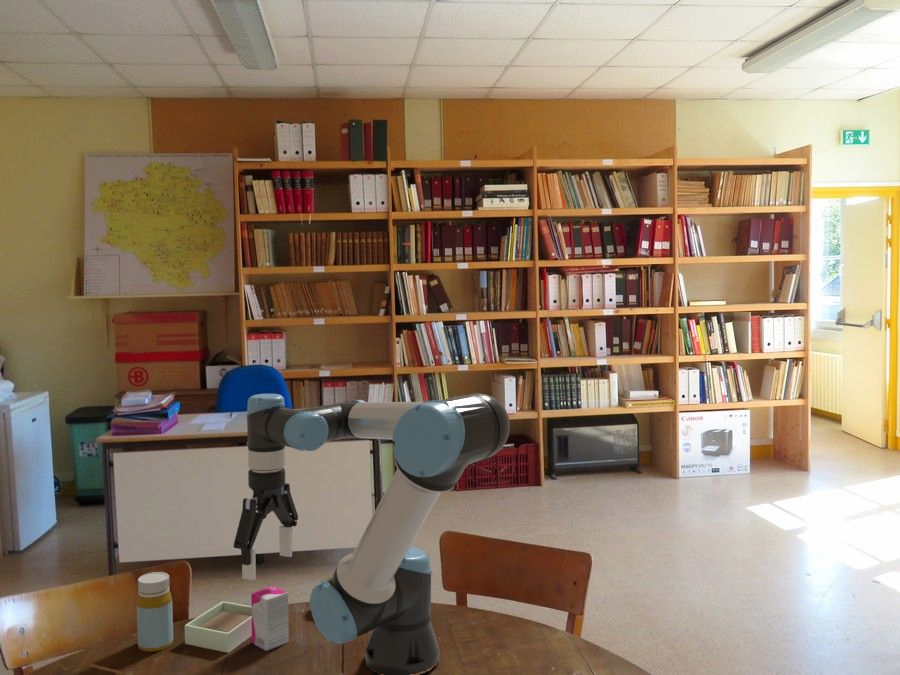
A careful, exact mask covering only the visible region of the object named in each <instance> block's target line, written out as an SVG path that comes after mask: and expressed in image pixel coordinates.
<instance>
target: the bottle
mask: <svg viewBox="0 0 900 675" xmlns="http://www.w3.org/2000/svg"><path fill="white" fill-rule="evenodd" d="M137 589H138V591H137V592H138V596H137V599H136V623H137V624H136V626H137V627H136V628H137V629H136V630H137V646H138V649H139V650H141V651H143V652H148V653H150V652H151V653H152V652H158V651H163V650H165V649H167V648H169V647H171V645H172V644H173V642H174V620H173V619H174V617H173V616H174V615H173V614H174V613H173V596H172V593H171V591H170V575H169V574H168V573H167V572H165V571H154V572H153V571H152V572H148V573H145V574H142V575H141V576H140V577H138V578H137Z"/></svg>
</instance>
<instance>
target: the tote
mask: <svg viewBox="0 0 900 675" xmlns="http://www.w3.org/2000/svg"><path fill="white" fill-rule="evenodd" d="M223 611H225V612H230V613H235V614H241V615H246V616H250V617H249V618H248V619H246V620H245V621H243V622H242V623H240V624H239V625H238V626H236V627H235V628H233V629H232V630H230V631H229V632H228V633H227V632H222V631H217V630H212V629H207V628H202V627H200V626H202V625H203V624H205V623H206V622H208V621H209V620H211V619H212V618H214V617H215V616H217V615H218V614H220V613H222V612H223ZM249 638H252V605H245V604H240V603H235V602H230V601H226V600H225V601H220V602H219V603H218V604H215V605H214V606H212V608H210V609H208V610H207V611H205V612H203V613H202V614H199V615H198V616H197V617H195V618H193V619H192V620H191V621H189V622H187V623H186V624H185V625H184V644H185V645H188V646H195V647H199V648H203V649H207V650H214V651H218V652H223V653H230V652H231V651H233V650H235V649H236V648H237V647H238V646H240V645H241V644H243V643H244V642H245V641H246V640H248V639H249Z"/></svg>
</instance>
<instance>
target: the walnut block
mask: <svg viewBox="0 0 900 675" xmlns="http://www.w3.org/2000/svg"><path fill="white" fill-rule="evenodd" d="M249 617H250V616H246V615H241V614H235V613H230V612H225V611H223V612H222V613H220V614H218V615H217V616H215V617H214V618H212V619H211V620H209V621H208V622H206V623H205V624H203V625H202V626H200V627H202V628H207V629H212V630H217V631H222V632H227V633H228V632H229V631H230V630H232V629H233V628H235V627H236V626H238V625H239V624H240V623H242V622H243V621H245V620H246V619H248V618H249Z"/></svg>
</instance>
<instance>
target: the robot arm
mask: <svg viewBox="0 0 900 675" xmlns="http://www.w3.org/2000/svg"><path fill="white" fill-rule="evenodd" d="M285 403H286V402H285V398H284V396H282V395H281V394H278V393H259V394H253V395H252V396H250V397H248V399H247V410H246V412H247V413H246V423H247V424H246V425H247V430H246V431H247V432H246V433H247V448H248V449H247V450H248V452H247V453H248V454H247V457H248V459H247V460H248V461H247V462H248V463H247V464H248V466H247V467H248V468H249V470H248V472H247V473H248V474H247V475H248V476H247V481H248V488H249V489H251V490H252V496H251V497H252V498H251V497H250V498H245V497H244V498H243V500H242V508H241V509H242V510H241V514H240V519H239V521H238V522H239V523H238V527H237V531H236V533H235V538H234V541H233V548H234V549H237V550H240V553H241V556H240V557H241V560H240V561H241V562H240V563H241V567H242V569H241V572H242V573H241V574H242V576H241V578H242V579H243V580H249V581H255V580H256V579H257V574H256V573H257V571H256V570H257V567H256V565H257V562H256V558H257V557H256V547H254V544H255V542H256V539H257V537H258V534H259V531H260V528H261V527H262V523H263V522H264V521H263V520H265V519H266V518H267V516H268V515H269V514H270V513H271V512H273V513H274V515H275V516H276V518H277V519H278V521H279V522H280V524H281V525H279V527H278V530H279V531H278V532H279V533H278V534H279V556H281V557H287V558H291V557H292V556H293V527H296V526H297V524H298V522H297V521H298V520H299V515H298V512H297V509H296V506H295V503H294V500H293V497H292V493H291V488H290V487H291V485H290V483H286V469H285V468H284V467H285V466H286V447H289V448H291V449H295V450H298V451H307V452H315V451H317V450H319V448H321V447H322V446H323V445H325V443H327V442H328V443H329V442H332V441H336V440H341V439H371V440H374V439H375V440H392V442H394V445H393V446H392V450H393V454H394V465H395V467H396V470H395V473H394V474H393V476H392V478H391V480H390V482H389V483H388V485H387V488H386V490H385V492H384V493H383V496H382V497H381V499H380V501H379V503H378V505H377V507H376V509H375V511H374V513H373V514H372V517H371V519H370V520H369V522H368V525H367V526H366V528H365V530H364V531H363V533H362V536H361V538H360V540H359V542H358V544H357V546H356V548H355V549H354V551H353V553H349V554H347V555H345V556H343V558H341V559H340V561H339V562H338V564H337V566H336V568H335V569H334V572H333V574H332V576H330V577H331V578H330V579H329V580H327V581H322V580H321V581H320V582H318V584H316V585H314V587H313V588H312V589H311V593H310V596H309V607H310V612H311V616H312V619H313V622H314V624H315V626H316V627H317V629H318V631H319V632H320V634H321V635H322V636H323V637H324V638H325V639H327V640H328V641H329V642H330V643H331V642H332V643H334V644H338V645H341V644H342V645H343V644H346V643H347V642H351V641H355V640H356V639H357V638H359V637H361V636H364V635H365V634H368V633H369V632H370V634H369V637H368V641H367V644H366V647H365V652H364V656H365V659H364V660H365V661H366V662H365V661H364V662H365V665H366V664H367V665H366V667H367V666H368V667H369V668H370V669H371V670H373V671H375V672H376V673H379V674H384V675H410V674H416V673H419V672H422V671H425V670H427V669H429V668H431V667H432V666H433V665H435V664H436V663H437V661H438V659H439V660H440V646H439V643H438V639H437V636H436V634H435V631H434V628H433V625H432V622H431V621H432V617H431V616H432V615H431V614H432V606H431V605H432V569H431V568H432V567H431V565H432V564H431V559H430V556H429V554H428V553H427V552H426V551H425V550H422V549H420V548H417V547H413V546H412V545H413V542H414V541H415V540H416V537H417V536H418V535H419V532H420V530H421V528H422V527H423V525H424V523H425V521H426V520H427V518H428V517H429V514H430V513H431V511H432V509H433V507H434V505H435V504H436V502H437V500H438V498H439V497H440V495H441V493H442V494H443V493H447V492H450V491H452V490H453V489H454V488H455V487H456V485H457V484H458V481H459V479H460V478H461V477H462V475H463V473H464V471H465V469H466V468H467V467H468V466H469V465H470V464H474V463H476V462H481V461H483V460H486V459H488V458H491V457H493V456H494V455H496V454H497V453H498V452H500V451H501V449H502V448H504V446H505V444H506V442H507V441H508V438H509V435H510V429H511V427H510V425H511V422H510V417H509V414H508V411H507V410H506V407H505V406H504V405H503V404H502V403H501V401H499V400H498V399H497V398H495V397H493V396H491V395H489V394H486V393H485V394H484V393H479V392H478V393H477V392H476V393H469V394H464V395H458V396H457V395H456V396H453V397H448V398H444V399H433V400H432V399H431V400H426V401H365V400H362V399H357V400H356V399H350V400H345V401H343V402H336V403H332V404H326V405H325V404H324V405H321V406H320V405H319V406H314V407H307V408H301V409H294V408H288V407H286V404H285ZM368 667H367V668H368ZM369 668H368V669H369ZM370 669H369V670H370ZM371 670H370V671H371ZM373 671H372V672H373ZM376 673H375V674H376ZM379 674H378V675H379Z"/></svg>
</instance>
